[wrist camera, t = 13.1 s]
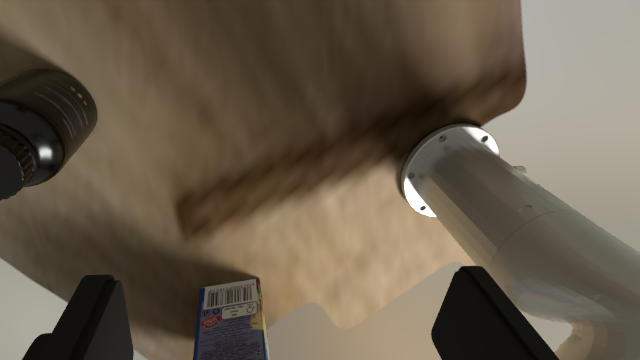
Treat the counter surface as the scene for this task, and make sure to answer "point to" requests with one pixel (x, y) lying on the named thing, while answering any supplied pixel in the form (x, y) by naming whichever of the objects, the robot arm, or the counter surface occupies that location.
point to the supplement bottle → (40, 126)
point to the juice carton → (231, 323)
